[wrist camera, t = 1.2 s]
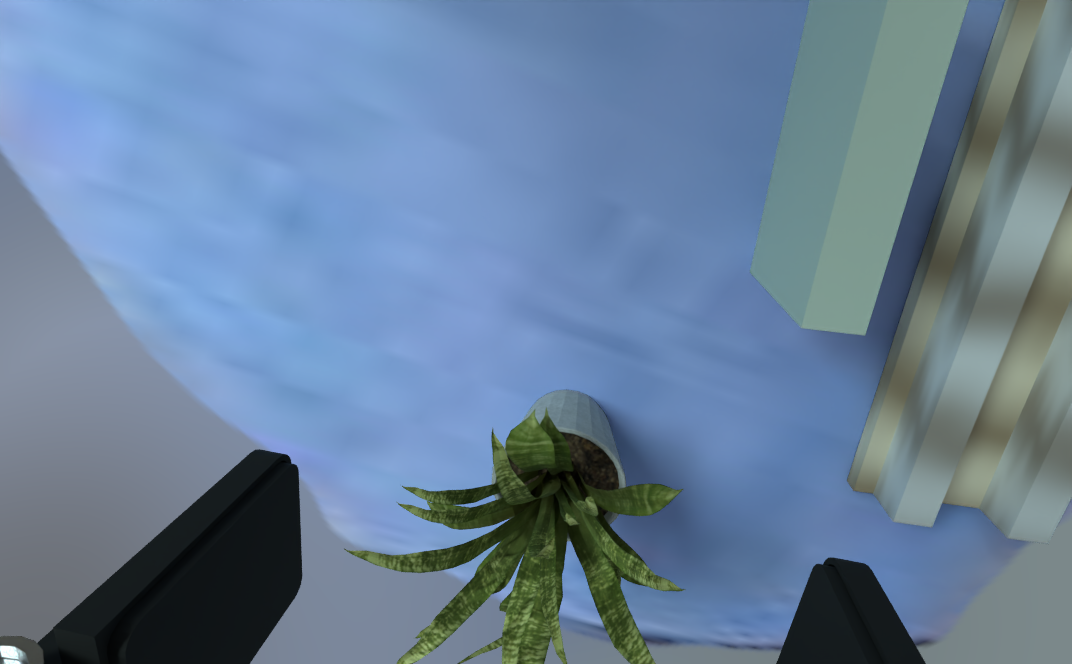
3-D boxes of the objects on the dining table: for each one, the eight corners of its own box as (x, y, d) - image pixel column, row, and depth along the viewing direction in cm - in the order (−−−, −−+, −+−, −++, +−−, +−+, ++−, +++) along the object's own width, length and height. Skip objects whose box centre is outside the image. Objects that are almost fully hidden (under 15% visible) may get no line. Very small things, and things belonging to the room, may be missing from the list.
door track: (1011, -19, 24) (1072, -41, 21) (1266, -5, 23) (1372, -26, 20) (846, 480, 34) (871, 518, 30) (1025, 505, 33) (1070, 547, 29)
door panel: (815, -29, 25) (915, -105, 17) (871, -26, 25) (1000, -101, 17) (749, 271, 30) (800, 328, 22) (794, 276, 30) (865, 335, 22)
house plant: (412, 331, 34) (248, 497, 19) (637, 275, 31) (659, 421, 16) (484, 521, 38) (398, 782, 23) (688, 489, 35) (744, 764, 20)
